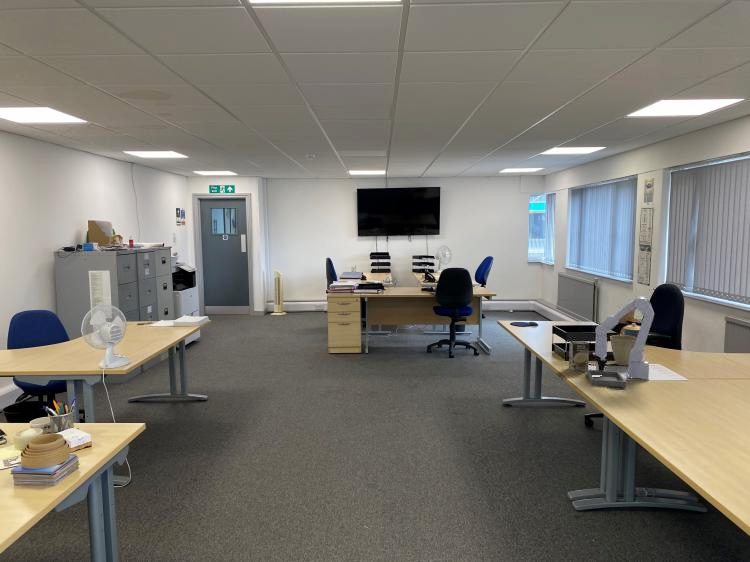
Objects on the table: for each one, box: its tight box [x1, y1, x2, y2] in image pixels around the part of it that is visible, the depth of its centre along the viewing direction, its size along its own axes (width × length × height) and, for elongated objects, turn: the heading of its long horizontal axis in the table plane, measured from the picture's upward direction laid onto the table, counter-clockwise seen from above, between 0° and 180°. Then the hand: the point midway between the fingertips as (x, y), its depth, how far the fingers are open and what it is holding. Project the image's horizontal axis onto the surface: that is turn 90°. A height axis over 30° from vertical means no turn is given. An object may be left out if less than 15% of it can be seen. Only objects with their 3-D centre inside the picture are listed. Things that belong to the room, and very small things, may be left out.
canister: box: [622, 322, 645, 351], centre depth 317 cm, size 13×13×18 cm
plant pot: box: [609, 334, 637, 366], centre depth 283 cm, size 15×15×16 cm
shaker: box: [595, 360, 606, 371], centre depth 268 cm, size 5×5×6 cm
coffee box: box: [568, 340, 590, 372], centre depth 273 cm, size 9×6×16 cm
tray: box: [586, 369, 627, 388], centre depth 253 cm, size 16×18×3 cm
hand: (600, 369), depth 268 cm, fingers open, 6 cm apart
